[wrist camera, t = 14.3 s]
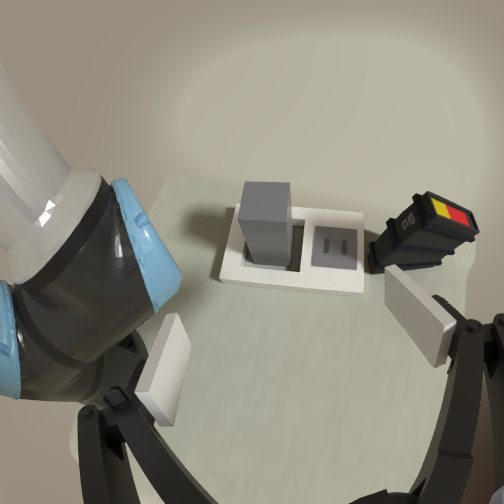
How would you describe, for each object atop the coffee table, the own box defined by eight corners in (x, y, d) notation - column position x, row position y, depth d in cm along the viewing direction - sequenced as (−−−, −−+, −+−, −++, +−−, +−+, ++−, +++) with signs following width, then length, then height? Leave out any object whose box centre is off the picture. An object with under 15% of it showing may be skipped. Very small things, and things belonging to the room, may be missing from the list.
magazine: (346, 250, 36) (423, 186, 23) (408, 258, 39) (477, 212, 26) (351, 275, 34) (435, 218, 21) (413, 280, 38) (486, 237, 25)
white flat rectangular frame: (222, 283, 38) (218, 277, 36) (238, 210, 43) (235, 202, 41) (360, 297, 34) (363, 292, 32) (360, 220, 39) (363, 211, 37)
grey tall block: (254, 264, 39) (237, 219, 28) (259, 232, 41) (245, 180, 30) (289, 266, 38) (285, 221, 27) (293, 234, 40) (289, 182, 29)
